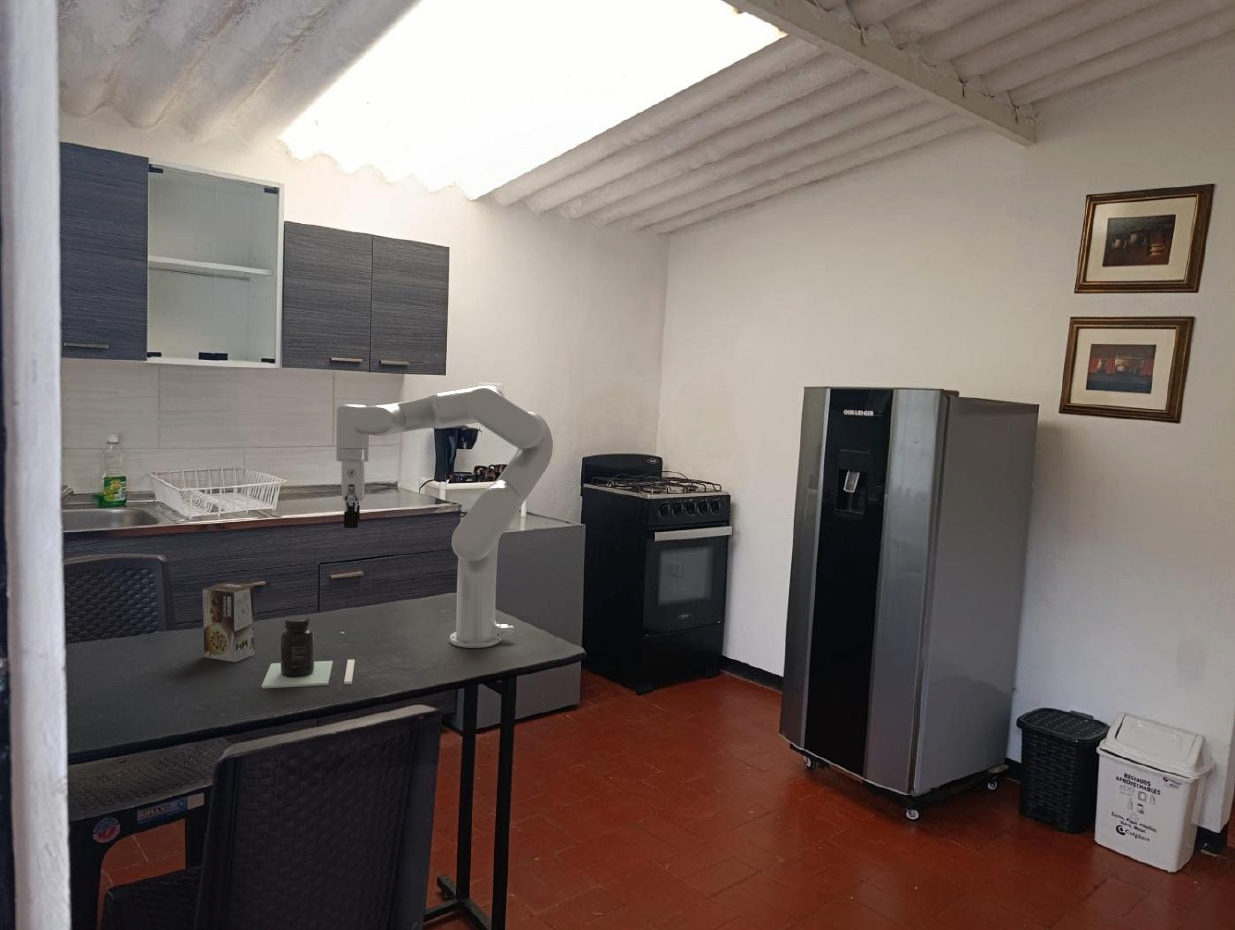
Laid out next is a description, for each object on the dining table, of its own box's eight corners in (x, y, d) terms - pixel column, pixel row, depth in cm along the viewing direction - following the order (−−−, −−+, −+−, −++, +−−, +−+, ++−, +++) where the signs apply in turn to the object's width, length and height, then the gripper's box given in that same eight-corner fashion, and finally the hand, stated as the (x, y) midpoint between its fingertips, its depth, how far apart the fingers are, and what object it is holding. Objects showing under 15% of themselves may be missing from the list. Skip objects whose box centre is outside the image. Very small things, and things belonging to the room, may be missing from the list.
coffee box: (255, 654, 195) (255, 586, 193) (234, 663, 189) (234, 592, 187) (224, 649, 198) (223, 581, 196) (202, 657, 192) (201, 587, 190)
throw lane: (354, 662, 193) (354, 659, 193) (351, 683, 179) (351, 681, 179) (271, 665, 188) (271, 663, 188) (261, 688, 175) (261, 685, 175)
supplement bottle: (319, 668, 186) (320, 615, 185) (305, 679, 179) (305, 624, 178) (289, 666, 187) (289, 613, 185) (274, 677, 180) (274, 621, 179)
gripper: (367, 458, 199) (366, 530, 201) (369, 452, 216) (368, 518, 218) (334, 458, 197) (333, 530, 199) (338, 451, 214) (338, 518, 216)
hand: (351, 524), depth 208 cm, fingers open, 9 cm apart
